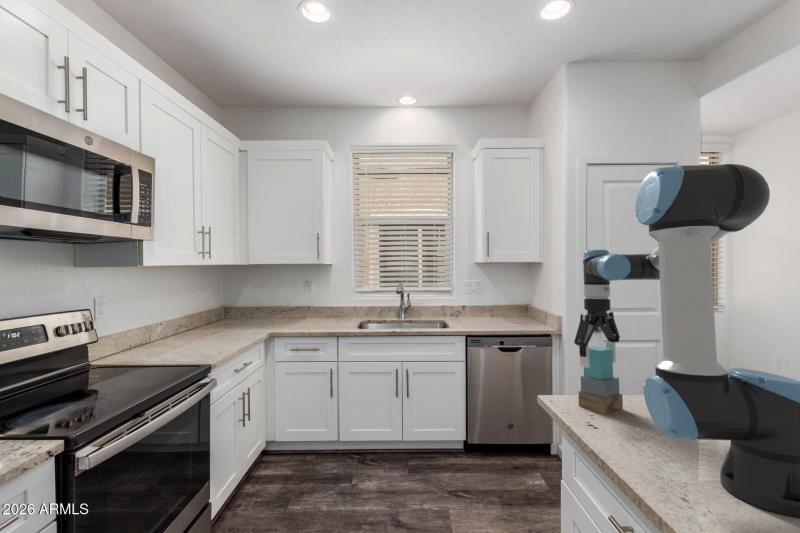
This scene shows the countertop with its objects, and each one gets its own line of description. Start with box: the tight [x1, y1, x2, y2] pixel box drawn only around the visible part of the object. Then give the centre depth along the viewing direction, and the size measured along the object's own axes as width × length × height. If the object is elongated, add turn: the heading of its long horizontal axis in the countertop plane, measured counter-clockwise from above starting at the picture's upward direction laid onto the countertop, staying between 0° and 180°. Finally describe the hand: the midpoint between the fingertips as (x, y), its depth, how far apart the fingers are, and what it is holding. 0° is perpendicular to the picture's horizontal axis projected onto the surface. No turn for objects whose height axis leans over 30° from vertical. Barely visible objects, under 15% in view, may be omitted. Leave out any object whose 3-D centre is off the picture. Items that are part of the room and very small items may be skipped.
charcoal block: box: [580, 375, 620, 398], centre depth 125 cm, size 8×8×5 cm
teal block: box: [583, 345, 614, 380], centre depth 126 cm, size 6×6×9 cm
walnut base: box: [578, 390, 624, 415], centre depth 125 cm, size 9×9×5 cm
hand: (598, 364), depth 126 cm, fingers open, 13 cm apart
